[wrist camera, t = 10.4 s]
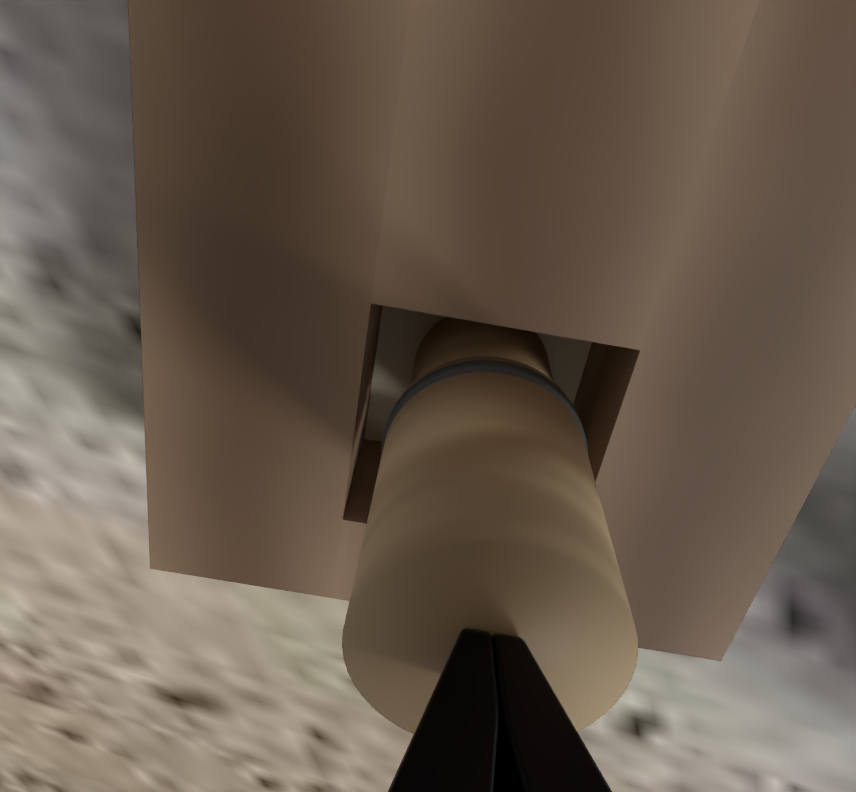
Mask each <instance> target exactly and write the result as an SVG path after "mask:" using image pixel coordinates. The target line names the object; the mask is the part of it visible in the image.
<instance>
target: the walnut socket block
mask: <svg viewBox="0 0 856 792" xmlns="http://www.w3.org/2000/svg"><path fill="white" fill-rule="evenodd" d="M128 13H129V38H130V64H131V90H132V115H133V141H134V167H135V192H136V218H137V243H138V269H139V295H140V320H141V346H142V372H143V397H144V423H145V449H146V474H147V500H148V525H149V551H150V569H156V570H162V571H169V572H175V573H181V574H187V575H193V576H199V577H206V578H212V579H218V580H224V581H230V582H237V583H243V584H249V585H255V586H261V587H267V588H274V589H280V590H286V591H292V592H298V593H304V594H311V595H317V596H323V597H329V598H335V599H341V600H348V601H350V597H351V592H352V588H353V583H354V579H355V574H356V570H357V565H358V561H359V556H360V552H361V547H362V543H363V538H364V534H365V529H366V525H367V520H368V515H369V511H370V506H371V502H372V497H373V493H374V488H375V484H376V479H377V475H378V470H379V466H380V461H381V445H382V440H383V436H384V432H385V428H386V423H387V421H388V418H389V416H390V414H391V412H392V410H393V408H394V406H395V405H396V403H397V402H398V400H399V398H400V397H401V395H402V394H403V393H404V392H405V390H406V389H407V388H408V387H409V386H410V384H411V379H412V374H413V368H414V363H415V358H416V354H417V351H418V348H419V346H420V344H421V342H422V340H423V339H424V337H425V336H426V335H427V333H428V332H429V331H430V330H431V329H432V328H433V327H434V326H435V325H436V324H437V323H439V322H440V321H441V320H443V319H445V318H446V317H452V318H458V319H463V320H469V321H475V322H481V323H486V324H492V325H498V326H504V327H509V328H515V329H521V330H527V331H532V332H536V333H537V335H538V336H539V337H540V339H541V341H542V343H543V344H544V347H545V349H546V352H547V356H548V360H549V365H550V369H551V373H552V377H553V381H554V382H555V383H556V384H557V385H558V386H559V387H560V388H561V389H562V391H563V392H564V393H565V394H566V396H567V397H568V399H569V400H570V401H571V403H572V404H573V406H574V408H575V409H576V411H577V413H578V415H579V418H580V420H581V423H582V426H583V430H584V433H585V437H586V442H587V447H588V458H589V461H590V465H591V468H592V472H593V476H594V479H595V483H596V486H597V490H598V494H599V497H600V501H601V504H602V508H603V512H604V515H605V519H606V523H607V526H608V530H609V533H610V537H611V541H612V544H613V548H614V551H615V555H616V559H617V562H618V566H619V570H620V573H621V577H622V580H623V584H624V588H625V591H626V595H627V598H628V602H629V606H630V609H631V613H632V617H633V620H634V624H635V628H636V633H637V637H638V648H644V649H650V650H656V651H662V652H668V653H675V654H681V655H687V656H693V657H699V658H706V659H712V660H718V661H721V660H722V658H723V656H724V654H725V652H726V650H727V648H728V646H729V645H730V643H731V641H732V639H733V637H734V635H735V633H736V631H737V629H738V627H739V626H740V624H741V622H742V620H743V618H744V616H745V614H746V612H747V610H748V608H749V607H750V605H751V603H752V601H753V599H754V597H755V595H756V593H757V591H758V589H759V588H760V586H761V584H762V582H763V580H764V578H765V576H766V574H767V572H768V570H769V569H770V567H771V565H772V563H773V561H774V559H775V557H776V555H777V553H778V551H779V550H780V548H781V546H782V544H783V542H784V540H785V538H786V536H787V534H788V532H789V531H790V529H791V527H792V525H793V523H794V521H795V519H796V517H797V515H798V513H799V511H800V510H801V508H802V506H803V504H804V502H805V500H806V498H807V496H808V494H809V492H810V491H811V489H812V487H813V485H814V483H815V481H816V479H817V477H818V475H819V473H820V472H821V470H822V468H823V466H824V464H825V462H826V460H827V458H828V456H829V454H830V453H831V451H832V449H833V447H834V445H835V443H836V441H837V439H838V437H839V435H840V434H841V432H842V430H843V428H844V426H845V424H846V422H847V420H848V418H849V416H850V415H851V413H852V411H853V409H854V407H855V405H856V0H128Z"/></svg>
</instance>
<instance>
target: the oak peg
mask: <svg viewBox="0 0 856 792" xmlns="http://www.w3.org/2000/svg"><path fill="white" fill-rule="evenodd" d="M464 628H469V629H475V630H482V631H487V632H489V633H490V634H491V636H492V635H493V634H495V633H500V634H506V635H513V636H518V637H521V638H522V639H523V640H524V641H525V643H526V644H527V646H528V648H529V649H530V651H531V653H532V655H533V656H534V658H535V660H536V662H537V663H538V665H539V667H540V668H541V670H542V672H543V674H544V675H545V677H546V679H547V681H548V682H549V684H550V686H551V687H552V689H553V691H554V693H555V694H556V696H557V698H558V700H559V701H560V703H561V705H562V706H563V708H564V710H565V712H566V713H567V715H568V717H569V718H570V720H571V722H572V724H573V725H574V727H575V729H576V731H577V732H578V731H580V730H582V729H583V728H585V727H587V726H589V725H590V724H592V723H593V722H595V721H596V720H597V719H599V718H600V717H601V716H603V715H604V714H605V713H606V712H607V711H608V710H609V709H610V708H611V707H612V706H613V705H614V704H615V703H616V702H617V701H618V700H619V698H620V697H621V696H622V694H623V693H624V692H625V690H626V688H627V686H628V685H629V683H630V681H631V679H632V676H633V673H634V670H635V667H636V663H637V656H638V637H637V633H636V628H635V624H634V620H633V617H632V613H631V609H630V606H629V602H628V598H627V595H626V591H625V588H624V584H623V580H622V577H621V573H620V570H619V566H618V562H617V559H616V555H615V551H614V548H613V544H612V541H611V537H610V533H609V530H608V526H607V523H606V519H605V515H604V512H603V508H602V504H601V501H600V497H599V494H598V490H597V486H596V483H595V479H594V476H593V472H592V468H591V465H590V461H589V458H588V447H587V442H586V437H585V433H584V430H583V426H582V423H581V420H580V418H579V415H578V413H577V411H576V409H575V408H574V406H573V404H572V403H571V401H570V400H569V399H568V397H567V396H566V394H565V393H564V392H563V391H562V389H561V388H560V387H559V386H558V385H557V384H556V383H555V382H554V381H553V377H552V373H551V369H550V365H549V360H548V356H547V352H546V349H545V347H544V344H543V343H542V341H541V339H540V337H539V336H538V335H537V333H536V332H532V331H527V330H521V329H515V328H509V327H504V326H498V325H492V324H486V323H481V322H475V321H469V320H463V319H458V318H452V317H446V318H445V319H443V320H441V321H440V322H439V323H437V324H436V325H435V326H434V327H433V328H432V329H431V330H430V331H429V332H428V333H427V335H426V336H425V337H424V339H423V340H422V342H421V344H420V346H419V348H418V351H417V354H416V358H415V363H414V368H413V374H412V379H411V384H410V386H409V387H408V388H407V389H406V390H405V392H404V393H403V394H402V395H401V397H400V398H399V400H398V402H397V403H396V405H395V406H394V408H393V410H392V412H391V414H390V416H389V418H388V421H387V423H386V428H385V432H384V436H383V440H382V445H381V461H380V466H379V470H378V475H377V479H376V484H375V488H374V493H373V497H372V502H371V506H370V511H369V515H368V520H367V525H366V529H365V534H364V538H363V543H362V547H361V552H360V556H359V561H358V565H357V570H356V574H355V579H354V583H353V588H352V592H351V597H350V602H349V606H348V611H347V615H346V620H345V624H344V629H343V638H342V648H343V656H344V661H345V664H346V667H347V671H348V673H349V675H350V677H351V679H352V681H353V683H354V685H355V686H356V688H357V689H358V691H359V692H360V694H361V695H362V696H363V697H364V699H365V700H366V701H367V702H368V703H369V704H370V705H371V706H372V707H373V708H374V709H375V710H376V711H378V712H379V713H380V714H381V715H382V716H384V717H385V718H386V719H388V720H389V721H391V722H392V723H394V724H395V725H397V726H399V727H401V728H403V729H404V730H406V731H408V732H410V733H412V734H414V733H415V731H416V728H417V726H418V724H419V722H420V720H421V717H422V715H423V713H424V711H425V709H426V706H427V704H428V702H429V700H430V698H431V695H432V693H433V691H434V689H435V687H436V684H437V682H438V680H439V678H440V675H441V673H442V671H443V669H444V667H445V664H446V662H447V660H448V658H449V656H450V653H451V651H452V649H453V647H454V645H455V642H456V640H457V638H458V636H459V634H460V632H461V630H462V629H464Z"/></svg>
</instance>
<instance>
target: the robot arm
mask: <svg viewBox="0 0 856 792" xmlns="http://www.w3.org/2000/svg"><path fill="white" fill-rule="evenodd" d="M388 792H612V791H611V789H610V788H609V786H608V784H607V782H606V781H605V779H604V777H603V775H602V774H601V772H600V770H599V769H598V767H597V765H596V763H595V762H594V760H593V758H592V756H591V755H590V753H589V751H588V750H587V748H586V746H585V744H584V743H583V741H582V739H581V737H580V736H579V734H578V732H577V731H576V729H575V727H574V725H573V724H572V722H571V720H570V718H569V717H568V715H567V713H566V712H565V710H564V708H563V706H562V705H561V703H560V701H559V700H558V698H557V696H556V694H555V693H554V691H553V689H552V687H551V686H550V684H549V682H548V681H547V679H546V677H545V675H544V674H543V672H542V670H541V668H540V667H539V665H538V663H537V662H536V660H535V658H534V656H533V655H532V653H531V651H530V649H529V648H528V646H527V644H526V643H525V641H524V640H523V639H522V638H521V637H518V636H513V635H506V634H500V633H495V634H493V635H492V636H491V634H490V633H489V632H487V631H482V630H475V629H469V628H464V629H462V630H461V632H460V634H459V636H458V638H457V640H456V642H455V645H454V647H453V649H452V651H451V653H450V656H449V658H448V660H447V662H446V664H445V667H444V669H443V671H442V673H441V675H440V678H439V680H438V682H437V684H436V687H435V689H434V691H433V693H432V695H431V698H430V700H429V702H428V704H427V706H426V709H425V711H424V713H423V715H422V717H421V720H420V722H419V724H418V726H417V728H416V731H415V733H414V735H413V737H412V739H411V742H410V744H409V746H408V748H407V750H406V753H405V755H404V757H403V759H402V762H401V764H400V766H399V768H398V770H397V773H396V775H395V777H394V779H393V781H392V784H391V786H390V788H389V790H388Z"/></svg>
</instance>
